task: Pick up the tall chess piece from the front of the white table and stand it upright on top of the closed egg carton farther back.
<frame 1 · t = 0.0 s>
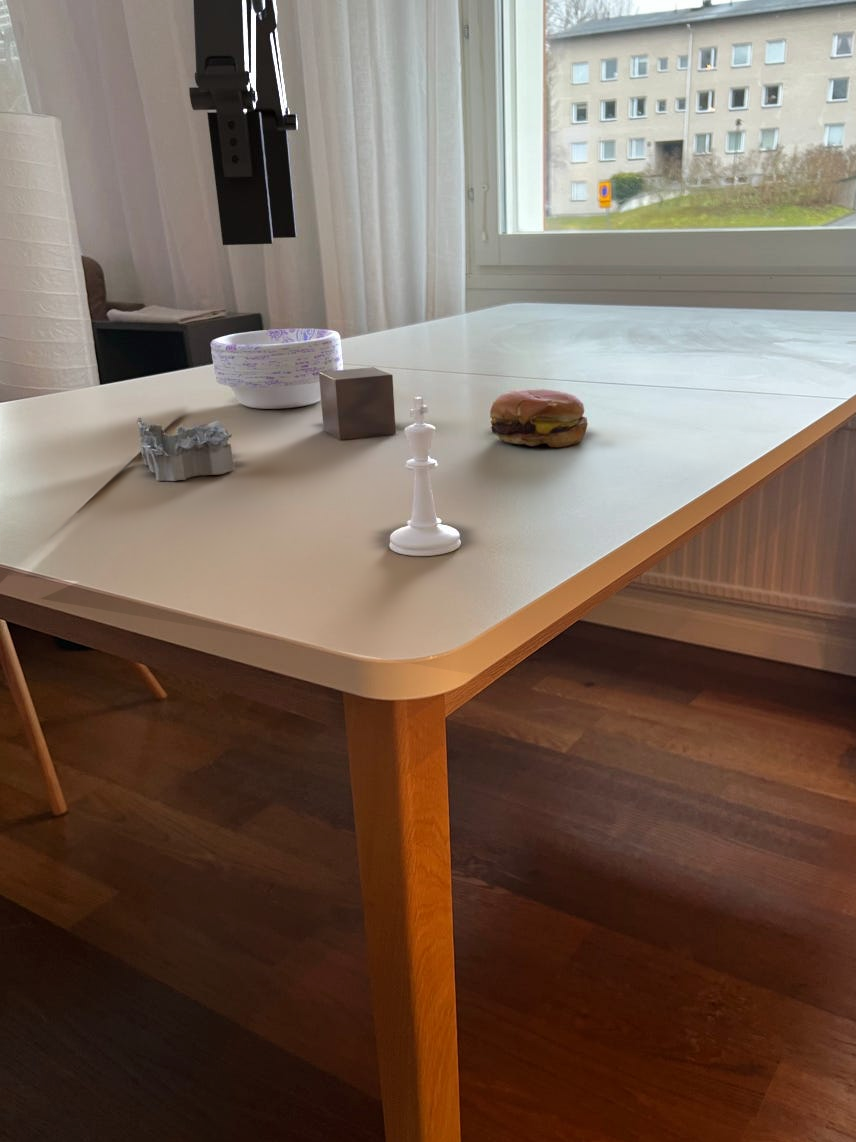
hand: (263, 241, 61), 20 cm above the table, tool pointing down, fingers open, 13 cm apart
burger: (538, 441, 98), on the table
chess piece: (425, 547, 68), on the table
paper bowls: (282, 404, 120), on the table
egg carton: (189, 469, 91), on the table
walnut block: (359, 431, 104), on the table
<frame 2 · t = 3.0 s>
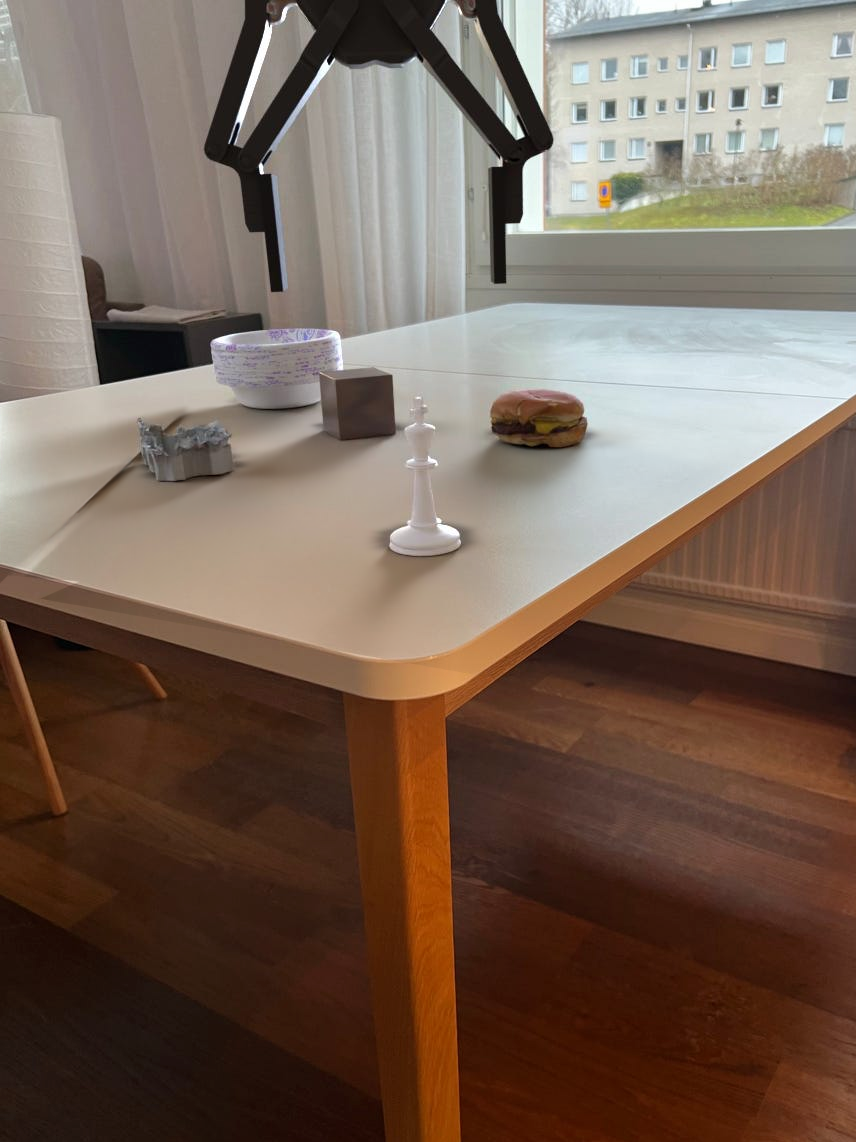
hand: (389, 287, 62), 17 cm above the table, tool pointing down, fingers open, 13 cm apart
nothing on the table moved.
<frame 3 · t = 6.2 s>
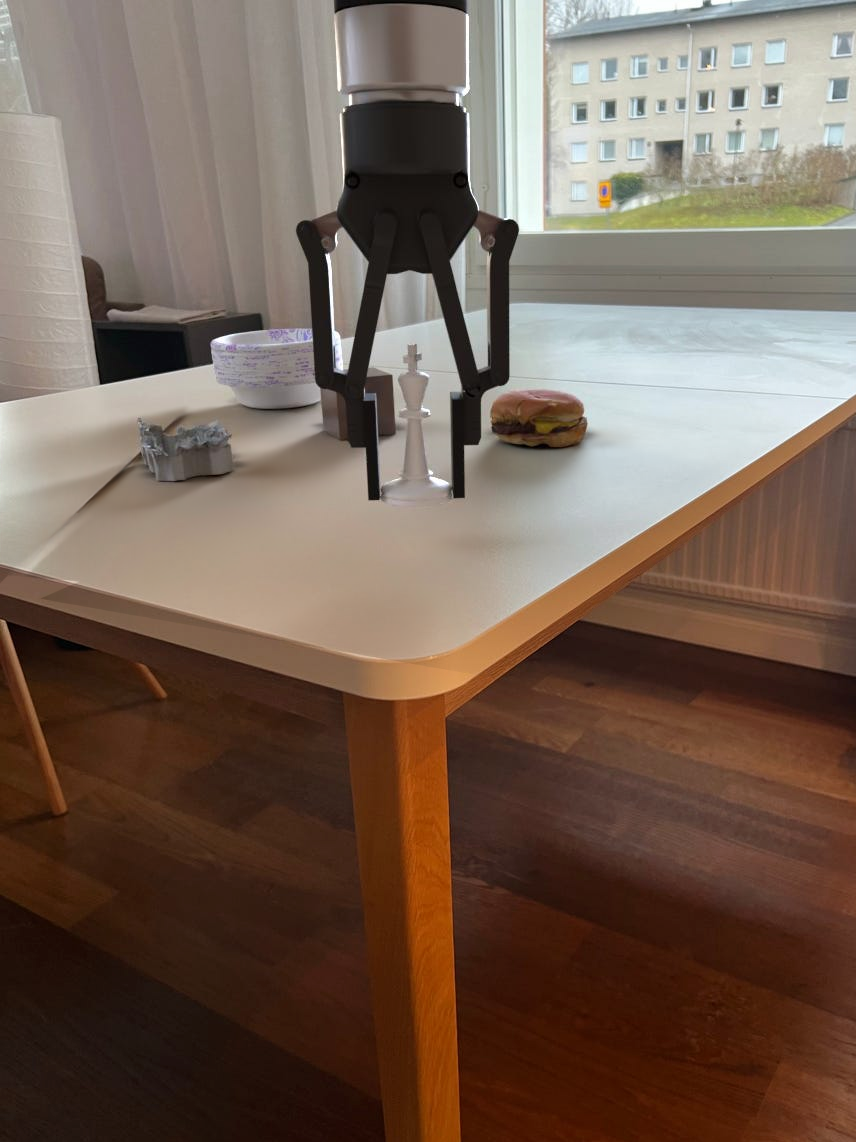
hand: (416, 493, 67), 4 cm above the table, tool pointing down, fingers closed on chess piece, 5 cm apart
chess piece: (416, 500, 67), point 3 cm above the table, touching gripper
everything else where it was.
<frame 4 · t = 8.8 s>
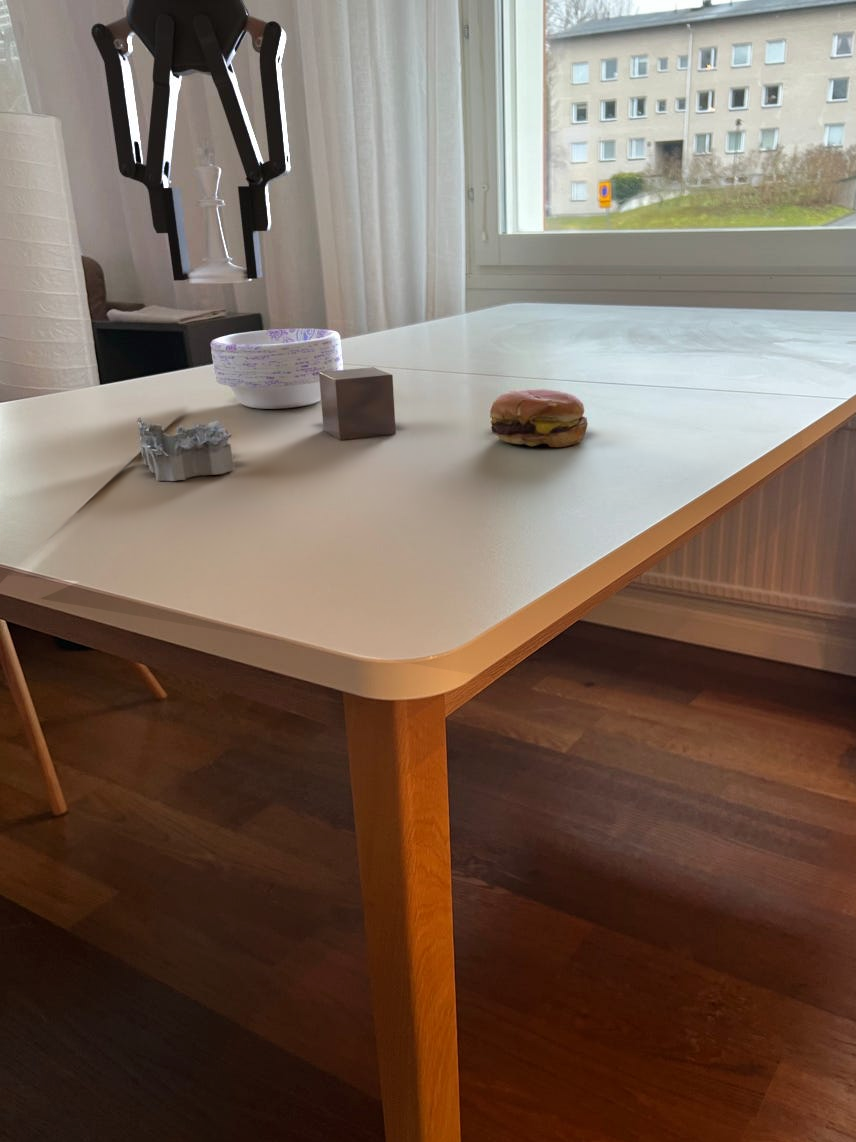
hand: (219, 277, 78), 17 cm above the table, tool pointing down, fingers closed on chess piece, 5 cm apart
chess piece: (220, 284, 78), point 16 cm above the table, touching gripper
everything else where it was.
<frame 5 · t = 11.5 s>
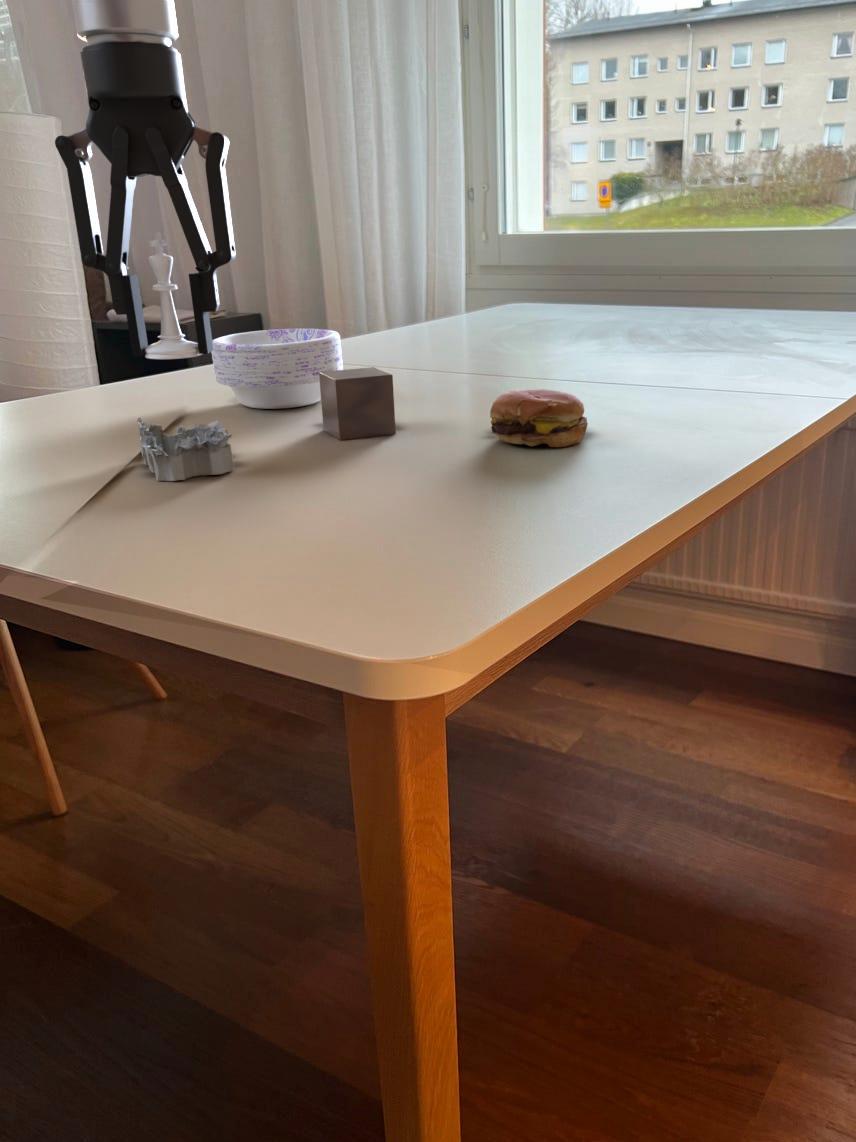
hand: (173, 352, 87), 10 cm above the table, tool pointing down, fingers closed on chess piece, 5 cm apart
chess piece: (174, 357, 87), point 10 cm above the table, touching gripper
everything else where it was.
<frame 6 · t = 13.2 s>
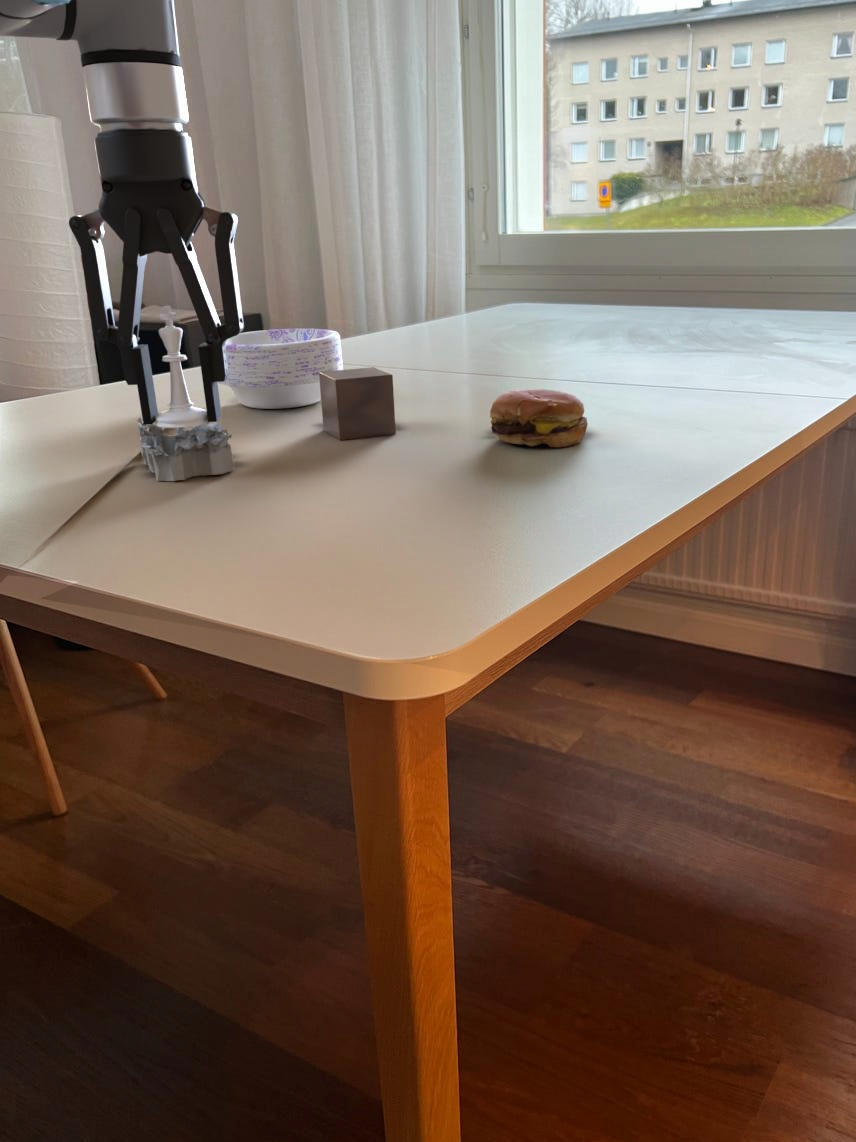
hand: (183, 419, 89), 4 cm above the table, tool pointing down, fingers closed on chess piece, 5 cm apart
chess piece: (183, 424, 89), point 4 cm above the table, touching gripper
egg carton: (189, 469, 91), on the table, touching gripper
everything else where it was.
when the fingers open (5 cm above the table, at t = 16.8 s): chess piece stays where it is, resting on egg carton.
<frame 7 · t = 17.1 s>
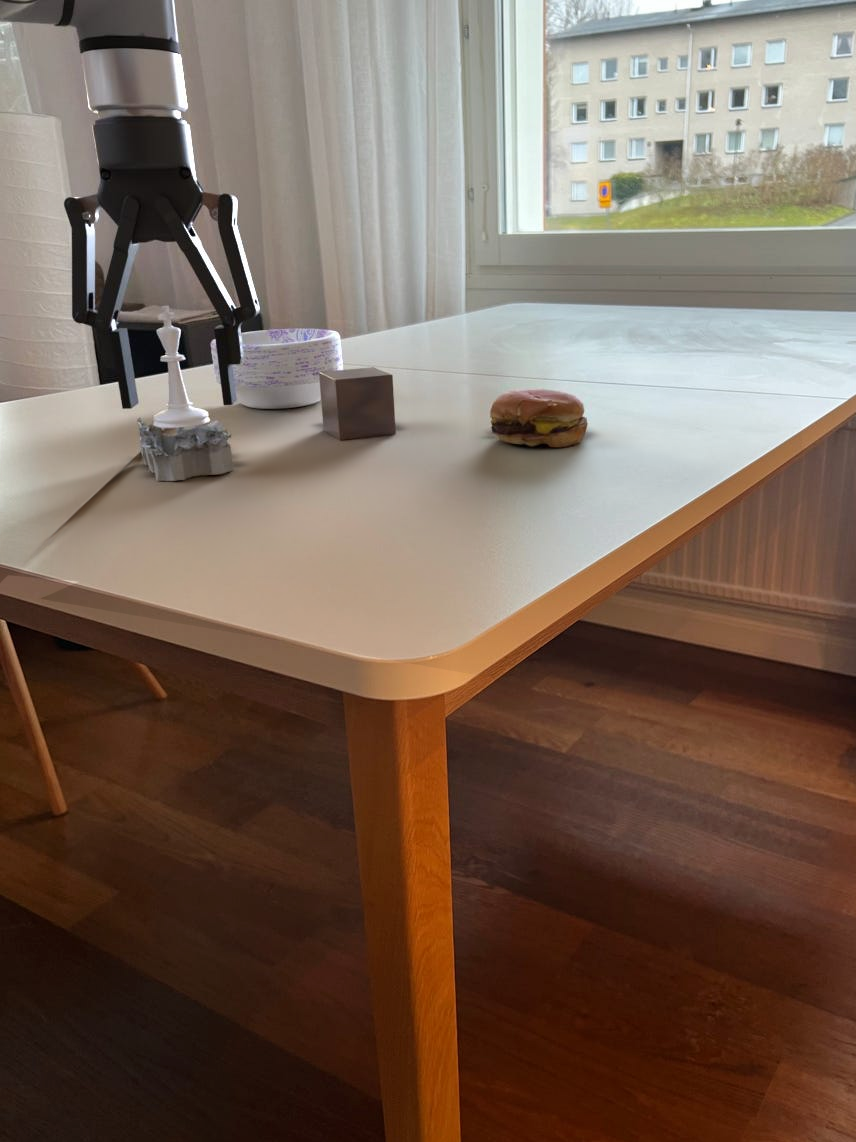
hand: (180, 403, 89), 6 cm above the table, tool pointing down, fingers open, 8 cm apart
chess piece: (182, 424, 89), point 4 cm above the table, touching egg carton
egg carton: (189, 469, 91), on the table, touching chess piece
everything else where it was.
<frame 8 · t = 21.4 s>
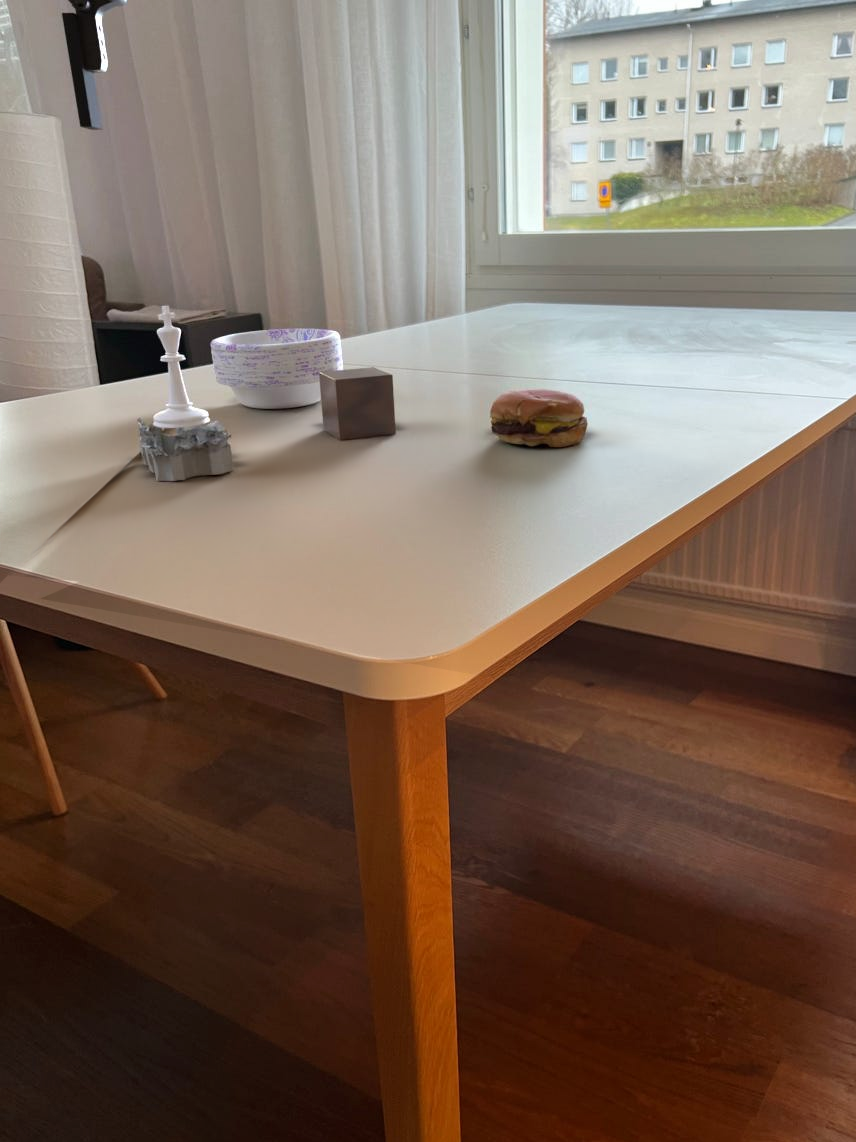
nothing on the table moved.
at the end: chess piece 0.1 cm from the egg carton (horizontally); chess piece point 3.9 cm above the table; chess piece tilted 0° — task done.
